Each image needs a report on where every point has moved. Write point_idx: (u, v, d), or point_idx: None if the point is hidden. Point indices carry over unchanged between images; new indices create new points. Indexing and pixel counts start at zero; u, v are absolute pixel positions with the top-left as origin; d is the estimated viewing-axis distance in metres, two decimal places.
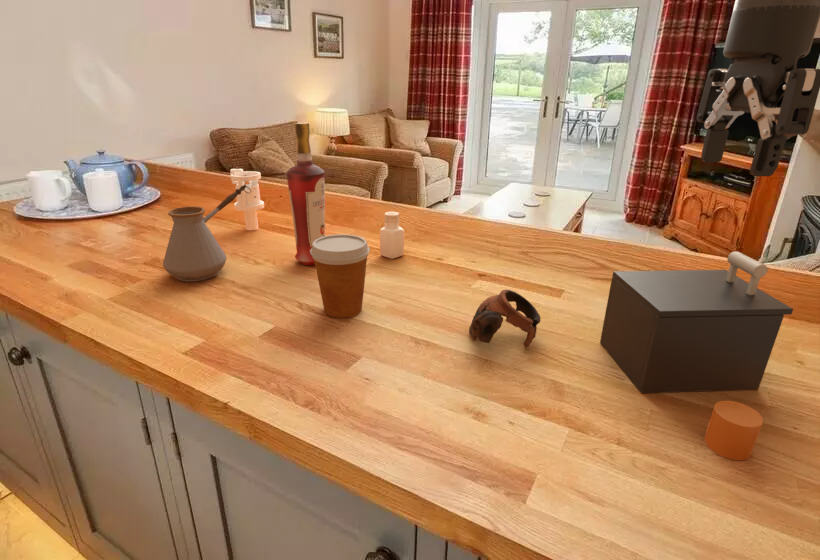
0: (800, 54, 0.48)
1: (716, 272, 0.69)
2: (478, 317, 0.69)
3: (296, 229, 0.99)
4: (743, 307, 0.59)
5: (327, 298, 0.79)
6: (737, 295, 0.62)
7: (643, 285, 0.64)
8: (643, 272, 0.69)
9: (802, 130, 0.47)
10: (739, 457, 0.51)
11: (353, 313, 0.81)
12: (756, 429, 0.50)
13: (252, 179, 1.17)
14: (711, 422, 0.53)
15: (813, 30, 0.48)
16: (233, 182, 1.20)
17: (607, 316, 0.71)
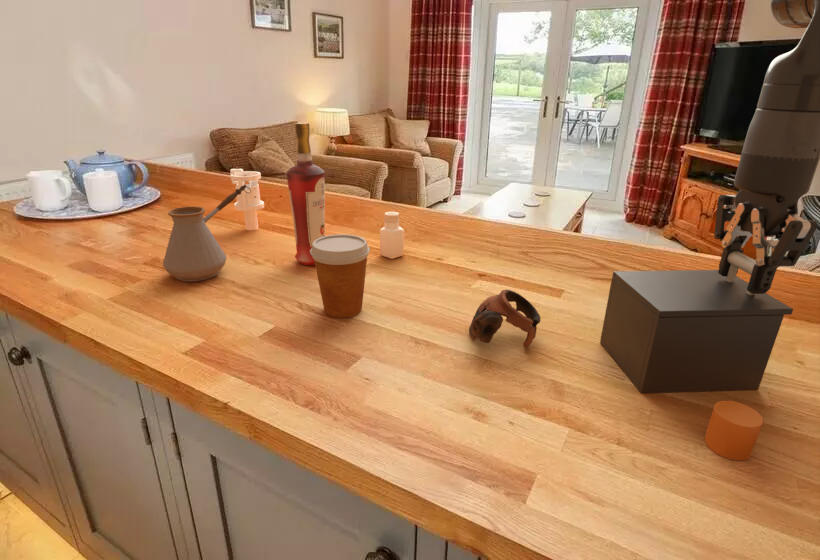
0: (801, 195, 0.56)
1: (716, 272, 0.69)
2: (478, 317, 0.69)
3: (296, 229, 0.99)
4: (743, 307, 0.59)
5: (327, 298, 0.79)
6: (737, 295, 0.62)
7: (643, 285, 0.64)
8: (643, 272, 0.69)
9: (791, 263, 0.57)
10: (739, 457, 0.51)
11: (353, 313, 0.81)
12: (756, 429, 0.50)
13: (252, 179, 1.17)
14: (711, 422, 0.53)
15: (812, 176, 0.55)
16: (233, 182, 1.20)
17: (607, 316, 0.71)
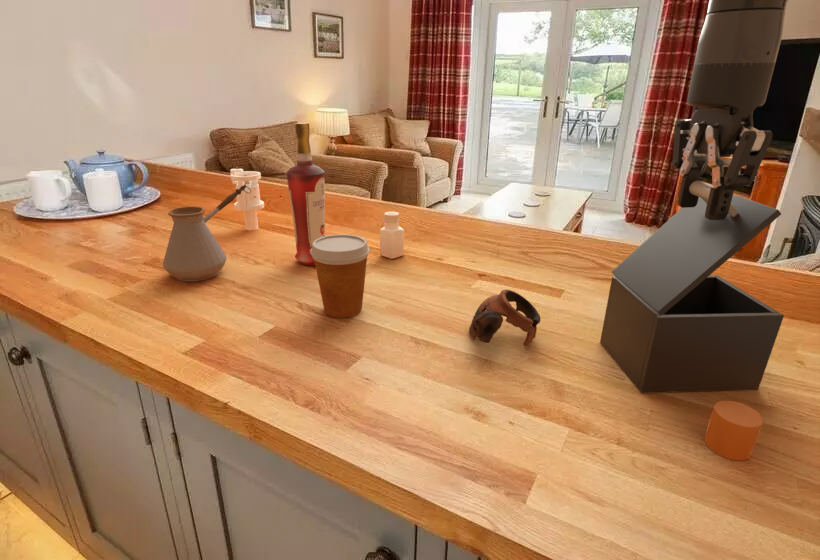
0: (755, 106, 0.52)
1: (699, 197, 0.65)
2: (478, 317, 0.69)
3: (296, 229, 0.99)
4: (729, 246, 0.55)
5: (327, 298, 0.79)
6: (722, 227, 0.58)
7: (638, 278, 0.64)
8: (635, 253, 0.68)
9: (747, 181, 0.53)
10: (739, 457, 0.51)
11: (353, 313, 0.81)
12: (756, 429, 0.50)
13: (252, 179, 1.17)
14: (711, 422, 0.53)
15: (767, 83, 0.51)
16: (233, 182, 1.20)
17: (607, 316, 0.71)
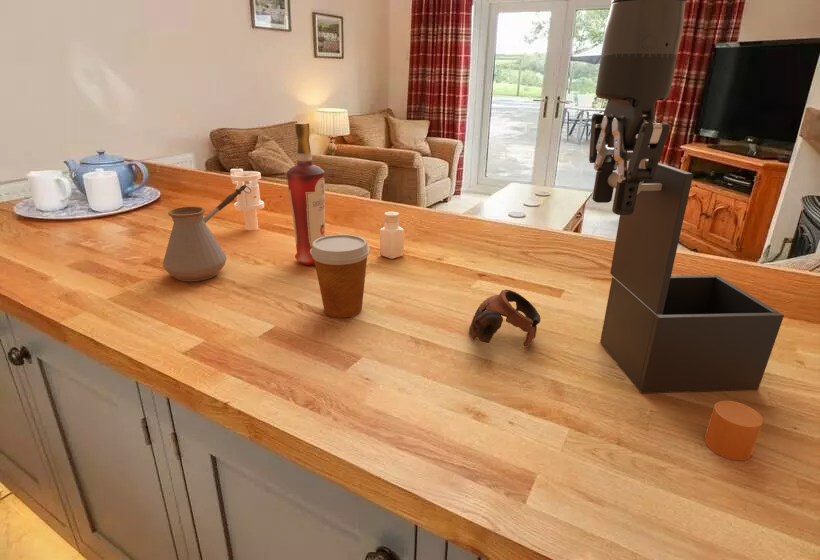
0: (657, 98, 0.51)
1: None
2: (478, 317, 0.69)
3: (296, 229, 0.99)
4: (671, 226, 0.54)
5: (327, 298, 0.79)
6: (659, 204, 0.56)
7: (629, 277, 0.64)
8: (616, 248, 0.67)
9: (649, 175, 0.52)
10: (739, 457, 0.51)
11: (353, 313, 0.81)
12: (756, 429, 0.50)
13: (252, 179, 1.17)
14: (711, 422, 0.53)
15: (668, 76, 0.50)
16: (233, 182, 1.20)
17: (607, 316, 0.71)
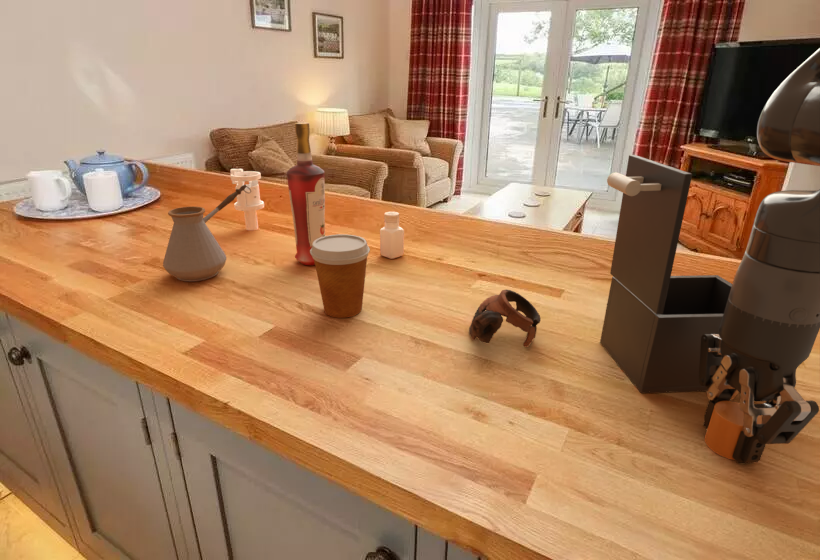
0: (800, 363, 0.45)
1: (630, 172, 0.63)
2: (478, 317, 0.69)
3: (296, 229, 0.99)
4: (671, 226, 0.54)
5: (327, 298, 0.79)
6: (658, 204, 0.56)
7: (629, 277, 0.64)
8: (616, 248, 0.67)
9: (784, 441, 0.47)
10: None
11: (353, 313, 0.81)
12: None
13: (252, 179, 1.17)
14: (711, 422, 0.53)
15: (813, 341, 0.45)
16: (233, 182, 1.20)
17: (607, 316, 0.71)
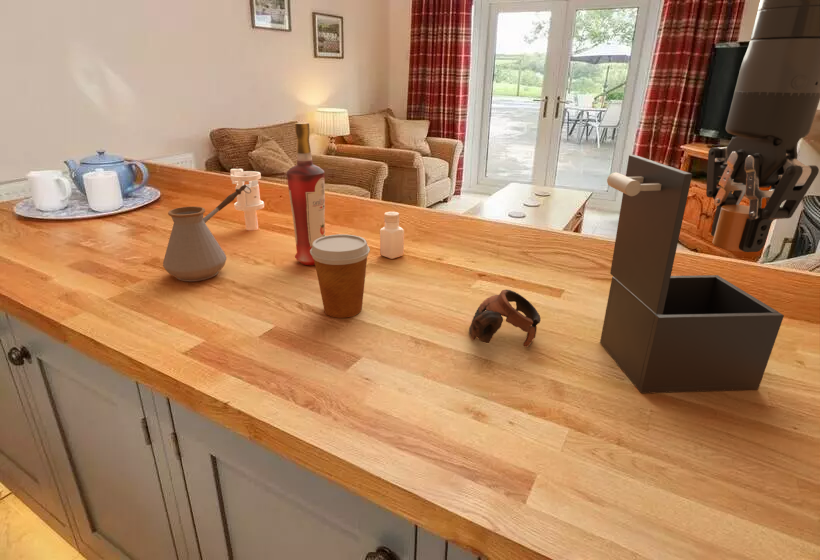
0: (800, 137, 0.50)
1: (630, 172, 0.63)
2: (478, 317, 0.69)
3: (296, 229, 0.99)
4: (671, 226, 0.54)
5: (327, 298, 0.79)
6: (658, 204, 0.56)
7: (629, 277, 0.64)
8: (616, 248, 0.67)
9: (787, 215, 0.51)
10: None
11: (353, 313, 0.81)
12: None
13: (252, 179, 1.17)
14: (719, 221, 0.57)
15: (813, 114, 0.49)
16: (233, 182, 1.20)
17: (607, 316, 0.71)
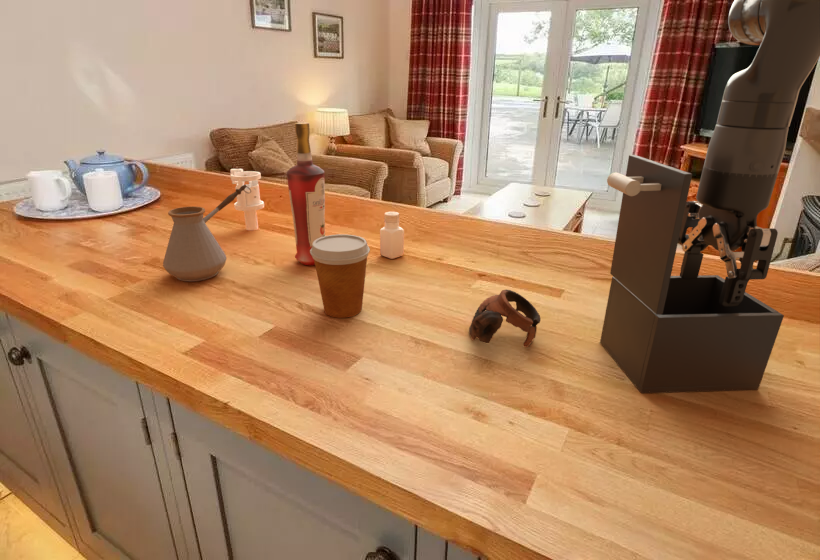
0: (759, 211, 0.56)
1: (630, 172, 0.63)
2: (478, 317, 0.69)
3: (296, 229, 0.99)
4: (671, 226, 0.54)
5: (327, 298, 0.79)
6: (658, 204, 0.56)
7: (629, 277, 0.64)
8: (616, 248, 0.67)
9: (761, 276, 0.56)
10: None
11: (353, 313, 0.81)
12: None
13: (252, 179, 1.17)
14: None
15: (770, 191, 0.56)
16: (233, 182, 1.20)
17: (607, 316, 0.71)
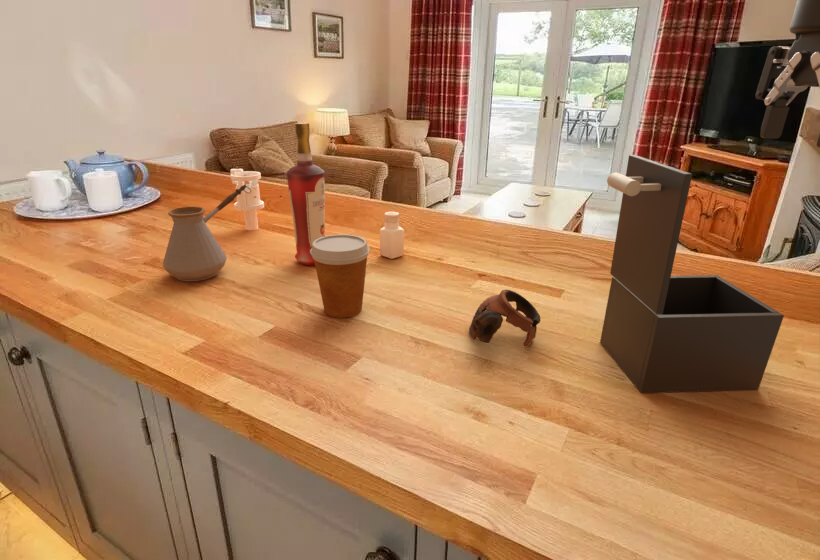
0: None
1: (630, 172, 0.63)
2: (478, 317, 0.69)
3: (296, 229, 0.99)
4: (671, 226, 0.54)
5: (327, 298, 0.79)
6: (658, 204, 0.56)
7: (629, 277, 0.64)
8: (616, 248, 0.67)
9: None
10: None
11: (353, 313, 0.81)
12: None
13: (252, 179, 1.17)
14: None
15: None
16: (233, 182, 1.20)
17: (607, 316, 0.71)
